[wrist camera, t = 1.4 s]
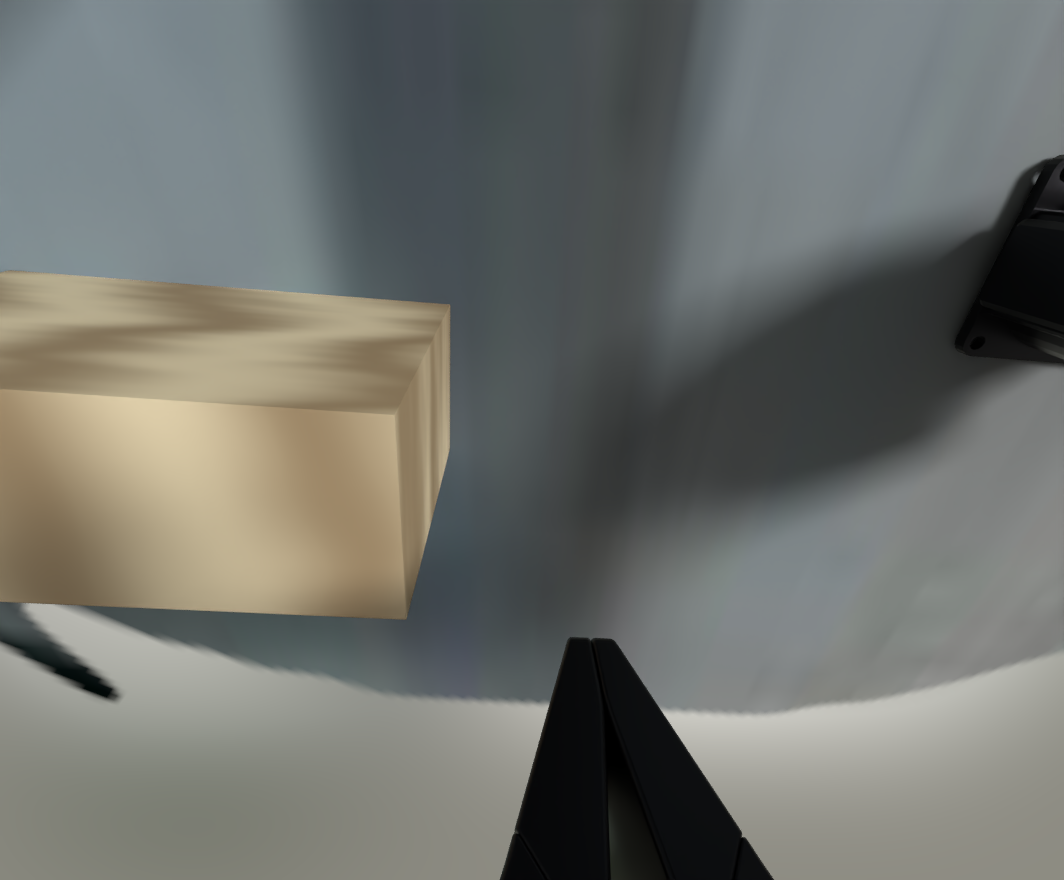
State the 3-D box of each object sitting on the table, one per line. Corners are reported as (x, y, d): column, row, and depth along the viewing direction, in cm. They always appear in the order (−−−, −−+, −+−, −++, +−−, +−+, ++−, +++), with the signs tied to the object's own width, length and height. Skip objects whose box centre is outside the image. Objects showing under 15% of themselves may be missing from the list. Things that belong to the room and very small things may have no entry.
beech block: (450, 303, 18) (394, 415, 10) (450, 447, 21) (406, 619, 13) (12, 269, 17) (-414, 362, 9) (75, 423, 20) (-209, 592, 12)
